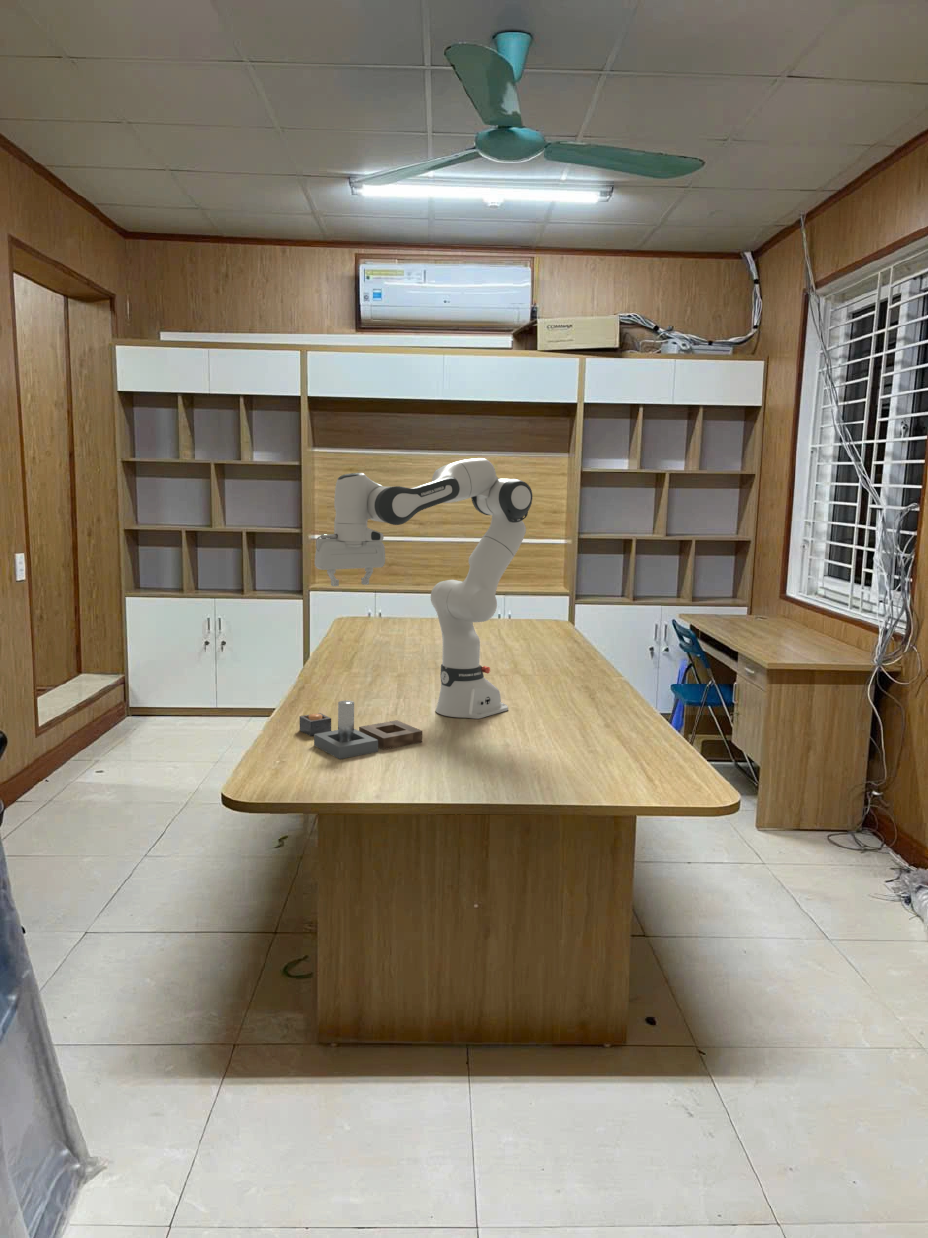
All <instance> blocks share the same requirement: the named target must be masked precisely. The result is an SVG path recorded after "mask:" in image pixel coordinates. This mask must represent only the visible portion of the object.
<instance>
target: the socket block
mask: <svg viewBox="0 0 928 1238" xmlns="http://www.w3.org/2000/svg"><path fill="white" fill-rule="evenodd" d="M358 731H360V732H362V733H364V734H366V735H368V736H371V737H373V738H375V739H377V740H378V749H381V750H389V749H394V748H399V747H405V746H409V745H413V744H414V745H415V744H421V743H423V733H424V732H423V730H421V729H419V728H416V727H415V726H413V725H409V724H407V723H405V722H403V721H400V720H391V721H390V720H389V721H384V722H379V723H374V724H368V725H362V726H358Z"/></svg>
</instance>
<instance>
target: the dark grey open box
mask: <svg viewBox="0 0 928 1238" xmlns="http://www.w3.org/2000/svg"><path fill="white" fill-rule="evenodd" d="M316 714H321V715H322V719H318V720H310V719H309V715H310V714H306V715H300V716H299V731H300V732H301V733H303V734H305V735H307V736H308V737H314V734H317V733H323V732H329V731H332V717H329V716H328V715H325V714H323V713H321V712H317V713H316Z"/></svg>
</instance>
